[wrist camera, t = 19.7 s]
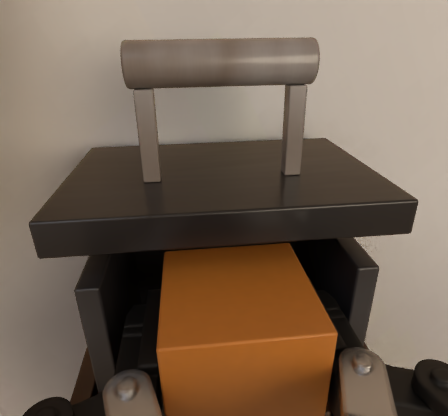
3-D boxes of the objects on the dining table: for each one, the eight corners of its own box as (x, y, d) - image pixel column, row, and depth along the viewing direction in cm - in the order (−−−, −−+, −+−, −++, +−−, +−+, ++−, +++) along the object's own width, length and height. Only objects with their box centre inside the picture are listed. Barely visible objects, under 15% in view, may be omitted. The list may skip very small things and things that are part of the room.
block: (289, 241, 13) (339, 332, 9) (282, 335, 15) (321, 446, 11) (163, 250, 13) (155, 350, 9) (173, 346, 15) (170, 465, 11)
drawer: (73, 41, 15) (-24, 41, 8) (337, 37, 16) (459, 34, 9) (125, 345, 22) (100, 486, 15) (305, 328, 23) (359, 454, 16)
